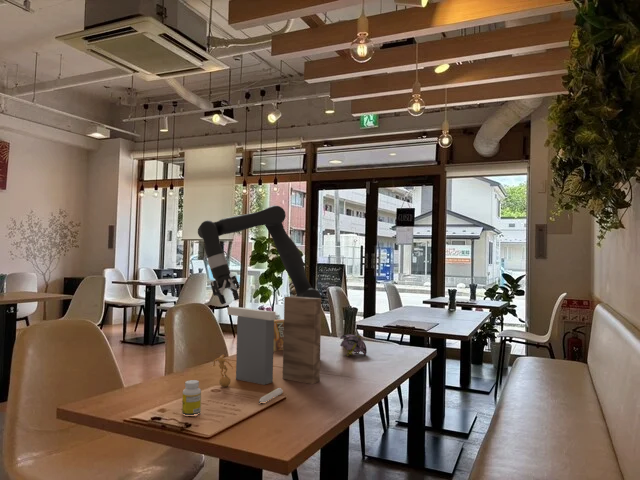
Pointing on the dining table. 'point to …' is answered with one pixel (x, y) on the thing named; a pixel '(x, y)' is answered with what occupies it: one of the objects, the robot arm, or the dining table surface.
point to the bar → (252, 313)
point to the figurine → (224, 379)
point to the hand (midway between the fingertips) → (230, 301)
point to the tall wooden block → (302, 339)
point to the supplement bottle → (191, 398)
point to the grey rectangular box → (255, 350)
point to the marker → (271, 395)
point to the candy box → (278, 334)
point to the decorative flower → (353, 344)
